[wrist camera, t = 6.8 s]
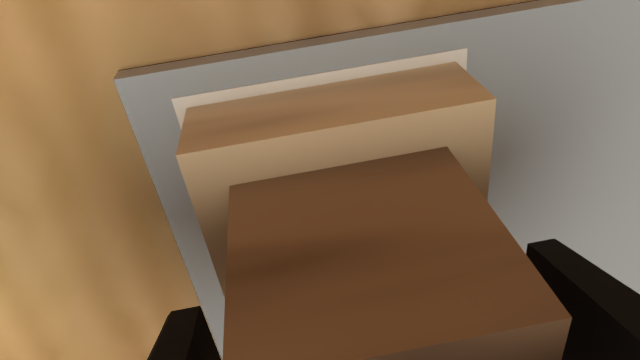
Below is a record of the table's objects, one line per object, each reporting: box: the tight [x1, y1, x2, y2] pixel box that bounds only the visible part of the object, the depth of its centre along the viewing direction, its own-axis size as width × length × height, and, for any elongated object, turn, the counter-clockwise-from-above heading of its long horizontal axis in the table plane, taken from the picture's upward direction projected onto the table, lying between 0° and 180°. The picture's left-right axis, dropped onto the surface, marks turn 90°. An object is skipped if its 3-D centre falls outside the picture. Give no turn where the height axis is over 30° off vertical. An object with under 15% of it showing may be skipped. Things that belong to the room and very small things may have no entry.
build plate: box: [113, 0, 640, 360], centre depth 16 cm, size 14×20×1 cm
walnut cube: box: [223, 147, 572, 360], centre depth 10 cm, size 5×5×5 cm
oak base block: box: [176, 61, 496, 298], centre depth 13 cm, size 7×7×2 cm
